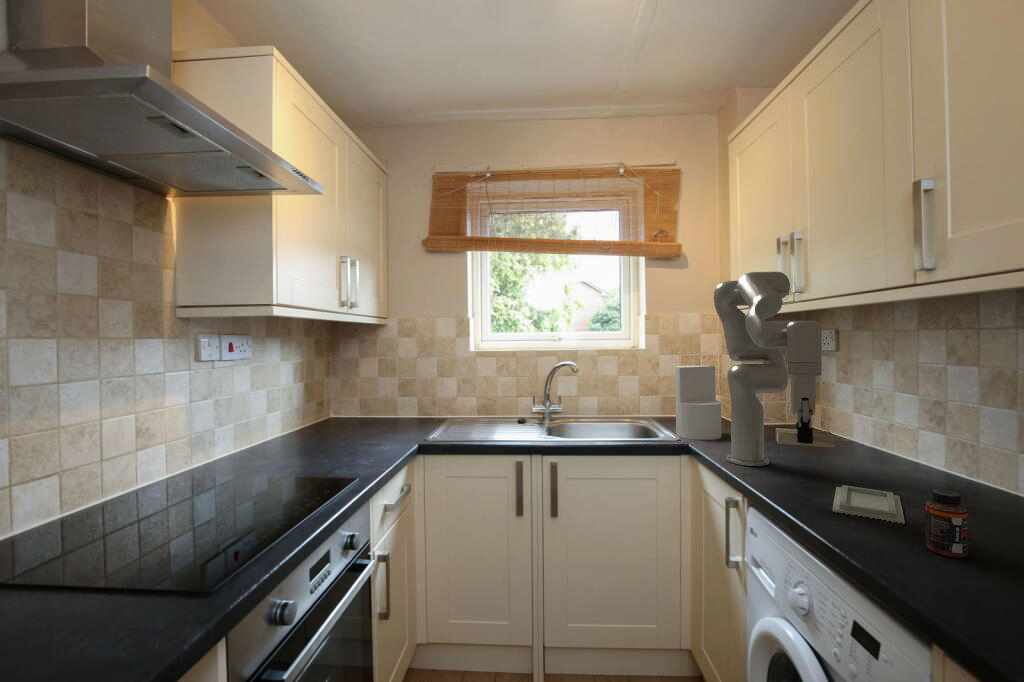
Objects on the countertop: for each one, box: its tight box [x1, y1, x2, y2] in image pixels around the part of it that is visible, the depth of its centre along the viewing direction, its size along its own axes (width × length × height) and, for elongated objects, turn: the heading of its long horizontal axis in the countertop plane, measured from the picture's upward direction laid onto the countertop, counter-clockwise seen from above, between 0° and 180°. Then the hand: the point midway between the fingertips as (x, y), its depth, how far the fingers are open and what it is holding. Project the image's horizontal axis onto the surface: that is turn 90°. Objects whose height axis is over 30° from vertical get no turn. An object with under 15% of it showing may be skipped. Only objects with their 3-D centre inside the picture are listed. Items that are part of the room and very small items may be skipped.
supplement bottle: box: [925, 488, 969, 559], centre depth 90 cm, size 6×6×11 cm
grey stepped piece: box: [675, 364, 722, 441], centre depth 194 cm, size 17×17×28 cm
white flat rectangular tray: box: [832, 484, 906, 525], centre depth 115 cm, size 20×13×2 cm, turn 143°
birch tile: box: [775, 427, 835, 448], centre depth 121 cm, size 5×12×3 cm, turn 67°
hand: (804, 439), depth 121 cm, fingers closed on birch tile, 5 cm apart
